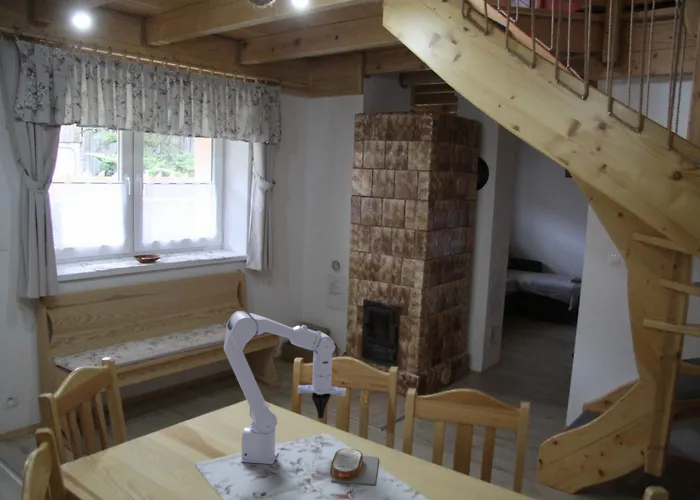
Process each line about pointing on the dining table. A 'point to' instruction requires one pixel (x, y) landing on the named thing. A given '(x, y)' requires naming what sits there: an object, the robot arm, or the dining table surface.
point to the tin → (346, 464)
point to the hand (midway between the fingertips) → (321, 417)
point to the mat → (364, 472)
